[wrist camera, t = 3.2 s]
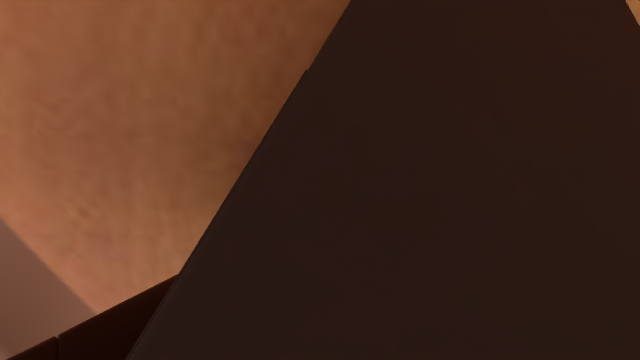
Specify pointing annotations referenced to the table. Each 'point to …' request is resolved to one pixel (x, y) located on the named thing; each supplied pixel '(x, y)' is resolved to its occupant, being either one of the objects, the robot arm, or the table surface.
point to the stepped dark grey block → (433, 197)
